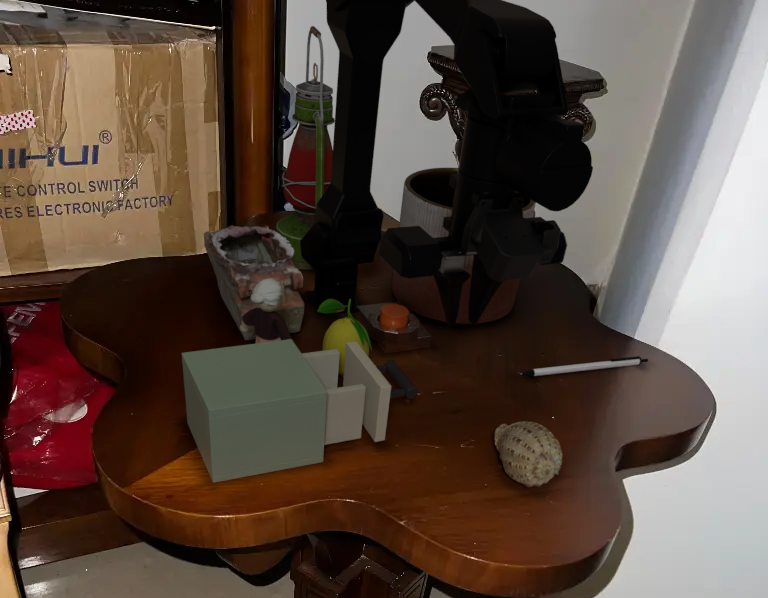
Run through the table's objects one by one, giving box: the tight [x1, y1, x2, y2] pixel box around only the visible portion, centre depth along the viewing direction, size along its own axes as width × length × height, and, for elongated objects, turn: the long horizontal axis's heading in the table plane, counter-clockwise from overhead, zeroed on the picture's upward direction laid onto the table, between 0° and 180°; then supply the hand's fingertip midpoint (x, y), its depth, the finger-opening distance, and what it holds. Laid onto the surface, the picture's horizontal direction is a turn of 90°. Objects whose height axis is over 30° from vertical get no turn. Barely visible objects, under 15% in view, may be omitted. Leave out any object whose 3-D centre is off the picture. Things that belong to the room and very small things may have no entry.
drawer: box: [301, 341, 419, 446], centre depth 82 cm, size 15×9×7 cm, turn 114°
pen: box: [520, 355, 649, 377], centre depth 99 cm, size 1×19×1 cm, turn 110°
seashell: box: [494, 421, 563, 488], centre depth 82 cm, size 8×6×10 cm
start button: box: [380, 304, 410, 328], centre depth 97 cm, size 4×4×2 cm
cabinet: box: [181, 338, 327, 484], centre depth 79 cm, size 12×11×9 cm
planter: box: [391, 167, 537, 326], centre depth 106 cm, size 18×18×16 cm
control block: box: [354, 300, 433, 354], centre depth 101 cm, size 11×8×4 cm
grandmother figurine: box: [239, 278, 292, 344], centre depth 86 cm, size 8×4×13 cm, turn 65°
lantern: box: [276, 25, 335, 271], centre depth 109 cm, size 14×11×30 cm
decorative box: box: [203, 224, 305, 341], centre depth 100 cm, size 13×20×10 cm, turn 17°
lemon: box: [316, 299, 373, 378], centre depth 90 cm, size 7×6×10 cm
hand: (461, 323), depth 83 cm, fingers closed
